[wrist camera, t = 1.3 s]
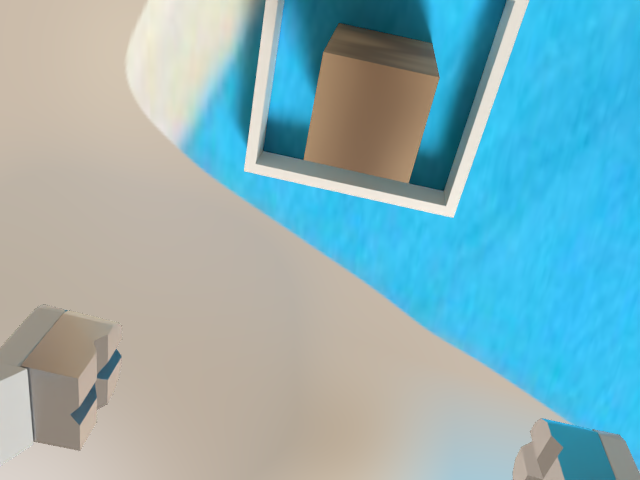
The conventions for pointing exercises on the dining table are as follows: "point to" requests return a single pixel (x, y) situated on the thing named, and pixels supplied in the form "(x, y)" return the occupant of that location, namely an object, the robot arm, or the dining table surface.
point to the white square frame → (366, 183)
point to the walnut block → (372, 102)
